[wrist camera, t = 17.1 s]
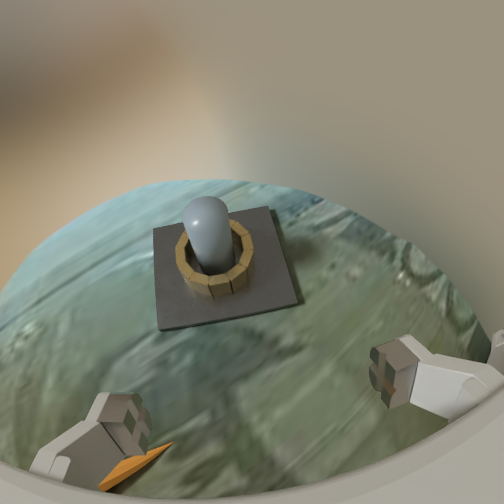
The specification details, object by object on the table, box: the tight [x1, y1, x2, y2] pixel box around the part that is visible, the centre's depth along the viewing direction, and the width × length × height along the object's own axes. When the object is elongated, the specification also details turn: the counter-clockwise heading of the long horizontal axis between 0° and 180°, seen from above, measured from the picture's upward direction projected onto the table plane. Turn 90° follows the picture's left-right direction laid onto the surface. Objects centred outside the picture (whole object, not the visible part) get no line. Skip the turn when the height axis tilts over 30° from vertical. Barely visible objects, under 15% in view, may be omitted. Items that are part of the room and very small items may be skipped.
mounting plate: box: [153, 206, 298, 332], centre depth 39 cm, size 18×16×1 cm
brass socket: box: [175, 219, 255, 297], centre depth 37 cm, size 10×10×4 cm
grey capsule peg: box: [182, 196, 235, 276], centre depth 34 cm, size 5×5×10 cm
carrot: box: [98, 442, 173, 492], centre depth 23 cm, size 20×4×4 cm, turn 129°
